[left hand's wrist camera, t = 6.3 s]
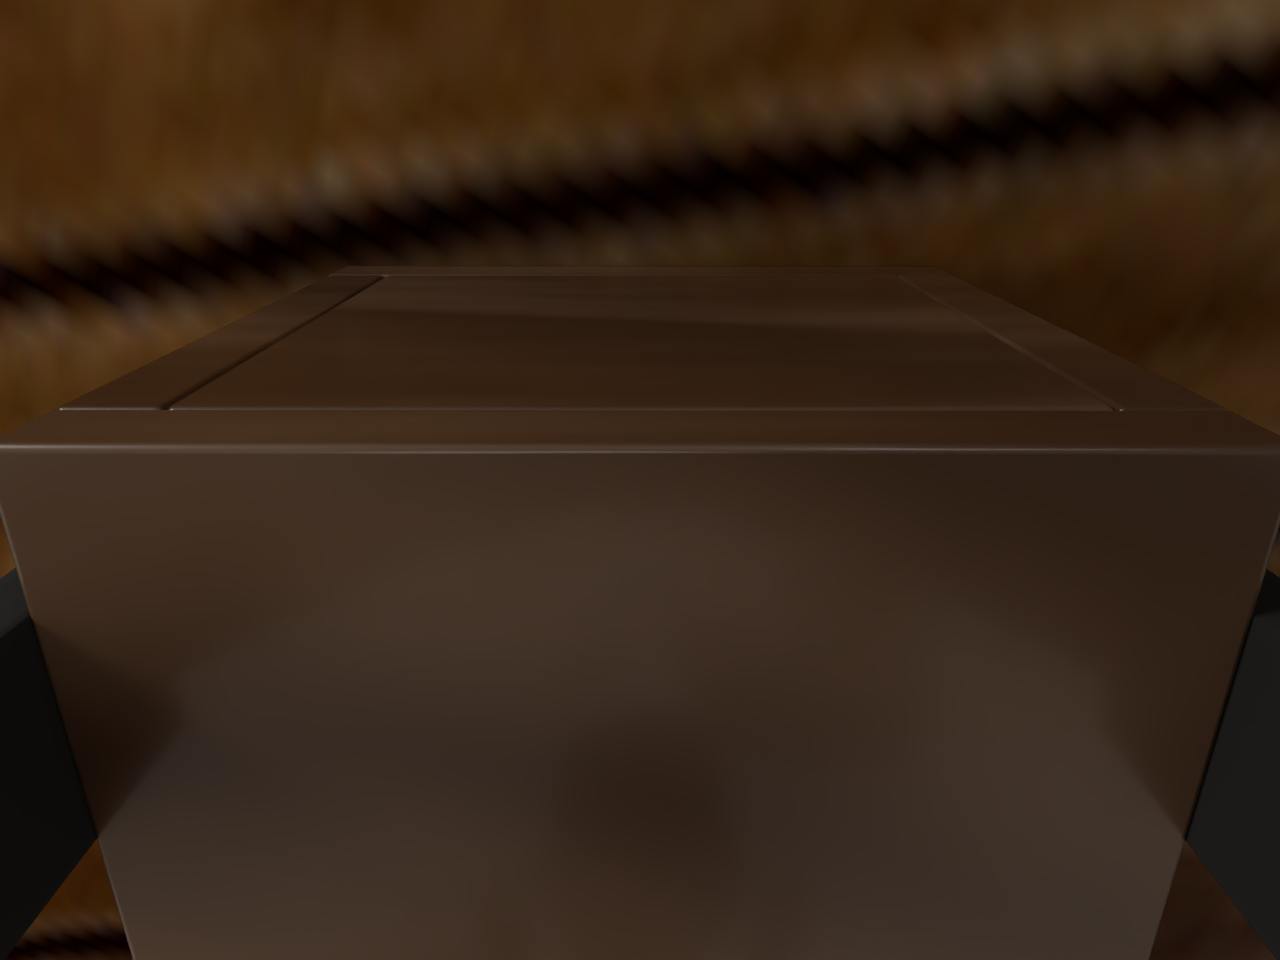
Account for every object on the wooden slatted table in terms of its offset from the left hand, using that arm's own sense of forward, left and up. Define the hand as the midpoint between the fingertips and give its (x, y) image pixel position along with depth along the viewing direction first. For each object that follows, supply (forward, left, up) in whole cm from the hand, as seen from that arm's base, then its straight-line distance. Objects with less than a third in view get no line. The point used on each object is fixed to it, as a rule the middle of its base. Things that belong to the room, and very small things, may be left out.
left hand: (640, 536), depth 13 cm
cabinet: (+1, +7, -6) cm, 9 cm away
